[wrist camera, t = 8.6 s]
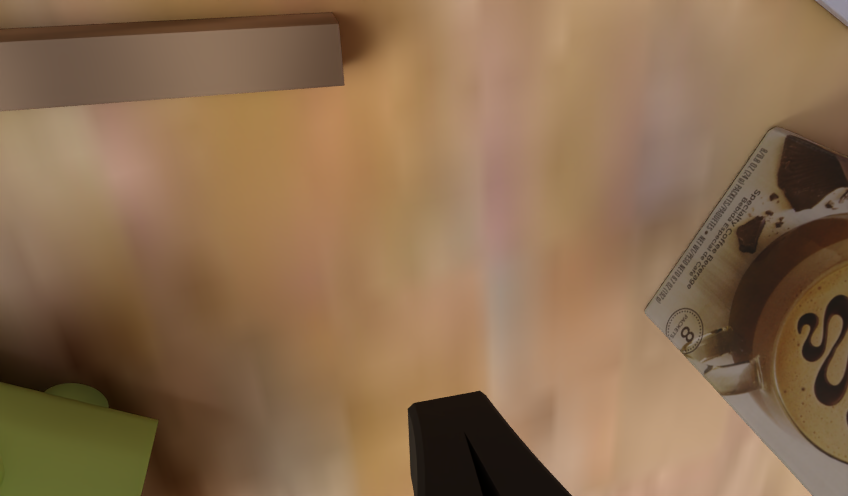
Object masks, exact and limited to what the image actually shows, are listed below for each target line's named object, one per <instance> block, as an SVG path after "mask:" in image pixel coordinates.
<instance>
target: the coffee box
mask: <svg viewBox="0 0 848 496" xmlns="http://www.w3.org/2000/svg"><path fill="white" fill-rule="evenodd" d="M645 314H646V315H647V316H648V317H649V318H650V320H651V321H652V322H653V323H654V324H655V325H656V326H657V327H658V328H659V329H660V330H661V331H662V332H663V333H664V334H665V335H666V337H667V338H668V339H669V340H670V341H671V342H672V343H673V344H674V345H675V346H676V347H677V348H678V349H679V350H680V351H681V352H682V353H683V355H684V356H685V357H686V358H687V359H688V360H689V361H690V362H691V364H692V365H693V366H694V367H695V368H696V369H697V370H698V371H699V372H700V373H701V374H702V376H703V377H704V378H705V379H706V380H707V381H708V382H709V383H710V384H711V385H712V386H713V387H714V388H715V389H716V391H717V392H718V393H719V394H720V395H721V396H722V397H723V398H724V400H725V401H726V402H727V403H728V404H729V405H730V406H731V407H732V408H733V409H734V410H735V412H736V413H737V414H738V415H739V416H740V417H741V418H742V419H743V420H744V422H745V423H746V424H747V425H748V426H749V427H750V428H751V429H752V430H753V431H754V432H755V433H756V435H757V436H758V437H759V438H760V439H761V440H762V441H763V442H764V443H765V444H766V445H767V447H768V448H769V449H770V450H771V451H772V452H773V453H774V454H775V455H776V456H777V457H778V458H779V459H780V460H781V462H782V463H783V464H784V465H785V466H786V467H787V468H788V469H789V470H790V471H791V473H792V474H793V475H794V476H795V477H796V478H797V479H798V480H799V481H800V482H801V483H802V485H803V486H804V487H805V488H806V489H807V490H808V491H809V492H810V493H811V494H812V496H848V157H847V156H845V155H843V154H840V153H838V152H836V151H834V150H831V149H829V148H827V147H824V146H822V145H820V144H817V143H815V142H813V141H811V140H809V139H807V138H804V137H802V136H800V135H798V134H795V133H793V132H790V131H788V130H785V129H783V128H780V127H774V128H773V129H771V130H769V131H768V132H767V134H766V135H765V137H764V138H763V140H762V141H761V143H760V144H759V146H758V147H757V149H756V150H755V152H754V153H753V154H752V156H751V157H750V159H749V160H748V162H747V163H746V165H745V166H744V168H743V169H742V171H741V172H740V173H739V175H738V176H737V178H736V179H735V181H734V182H733V184H732V185H731V186H730V188H729V189H728V191H727V192H726V194H725V195H724V197H723V198H722V199H721V201H720V202H719V204H718V205H717V207H716V208H715V209H714V211H713V212H712V214H711V215H710V217H709V218H708V220H707V221H706V223H705V224H704V225H703V227H702V228H701V230H700V231H699V233H698V234H697V236H696V237H695V238H694V240H693V241H692V243H691V244H690V246H689V247H688V249H687V250H686V251H685V253H684V254H683V256H682V257H681V259H680V260H679V262H678V263H677V264H676V266H675V267H674V269H673V270H672V271H671V273H670V274H669V276H668V277H667V279H666V280H665V281H664V283H663V284H662V286H661V287H660V289H659V290H658V291H657V293H656V294H655V296H654V297H653V299H652V300H651V302H650V303H649V304H648V306H647V307H646V309H645Z"/></svg>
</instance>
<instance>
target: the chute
mask: <svg viewBox="0 0 848 496" xmlns="http://www.w3.org/2000/svg"><path fill="white" fill-rule="evenodd" d="M331 86H344V75H343V64H342V53H341V42H340V31H339V23H338V22H337V20H336V18H335V17H334V15H333V13H332V12H329V13H309V14H289V15H269V16H250V17H230V18H210V19H190V20H170V21H151V22H131V23H111V24H91V25H71V26H52V27H32V28H12V29H0V111H11V110H24V109H38V108H51V107H64V106H78V105H91V104H104V103H118V102H131V101H144V100H158V99H171V98H184V97H197V96H211V95H224V94H237V93H251V92H264V91H277V90H291V89H304V88H317V87H331Z"/></svg>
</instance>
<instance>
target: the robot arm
mask: <svg viewBox="0 0 848 496" xmlns="http://www.w3.org/2000/svg"><path fill="white" fill-rule="evenodd" d="M815 1H816V2H818V3H819V4H820V5H821V6H823V7H824V8H825V9H826V10H828V11H829V12H830V13H831V14H832V15H834V16H835V17H836V18H837V19H839V20H840V21H841V22H842V23H844V24H845V25H846V26H847V27H848V0H815ZM408 424H409V446H410V469H411V479H412V484H413V490H414V496H572V495H571V494H570V493H569V492H568V491H567V490H566V489H565V488H564V487H563V486H562V485H561V483H560V482H559V481H558V480H557V479H556V478H555V477H554V476H553V475H552V474H551V473H550V472H549V471H548V469H547V468H546V467H545V466H544V465H543V464H542V463H541V462H540V461H539V460H538V458H537V457H536V456H535V455H534V454H533V453H532V452H531V450H530V449H529V448H528V447H527V446H526V445H525V443H524V442H523V441H522V440H521V439H520V438H519V436H518V435H517V434H516V433H515V432H514V430H513V429H512V428H511V427H510V426H509V424H508V423H507V422H506V421H505V419H504V418H503V417H502V416H501V414H500V413H499V412H498V411H497V409H496V408H495V407H494V406H493V404H492V403H491V402H490V400H489V399H488V398H487V396H486V395H485V394H484V393H482V392H481V391H476V392H471V393H466V394H460V395H455V396H449V397H444V398H439V399H433V400H428V401H422V402H417V403H414V404H412V405H411V406H410V407H409V408H408Z"/></svg>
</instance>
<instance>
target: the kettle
mask: <svg viewBox="0 0 848 496" xmlns="http://www.w3.org/2000/svg"><path fill="white" fill-rule="evenodd" d="M157 425H158V420H156V419H152V418H148V417H144V416H140V415H136V414H132V413H128V412H123V411H119V410H115V409H111V408H109V405H108V401H107V399H106V397H105V396H104V395H103V394H102V393H101V392H99V391H98V390H97V389H95V388H93V387H90V386H87V385H84V384H78V383H65V384H59V385H56V386H53V387H51V388H49V389H47V390H46V391H45V392H40V391H36V390H32V389H28V388H24V387H19V386H15V385H11V384H7V383H3V382H0V496H141V493H142V489H143V485H144V480H145V476H146V472H147V468H148V463H149V459H150V455H151V451H152V446H153V442H154V438H155V434H156V429H157Z"/></svg>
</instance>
